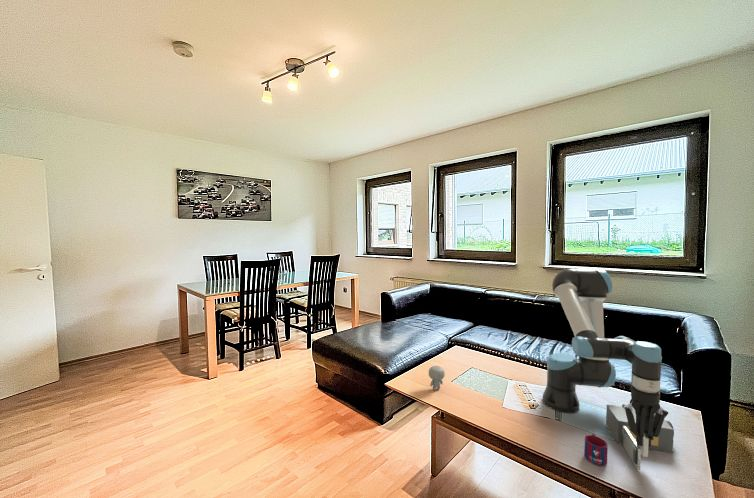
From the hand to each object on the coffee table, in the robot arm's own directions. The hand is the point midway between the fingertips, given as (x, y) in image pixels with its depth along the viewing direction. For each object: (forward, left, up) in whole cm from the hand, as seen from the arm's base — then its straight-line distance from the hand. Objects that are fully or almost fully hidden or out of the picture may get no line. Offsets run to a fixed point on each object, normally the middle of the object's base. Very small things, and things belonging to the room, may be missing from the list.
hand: (643, 454), depth 107 cm
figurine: (-76, +31, -5) cm, 82 cm away
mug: (-14, +1, -5) cm, 15 cm away
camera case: (+6, +17, -5) cm, 19 cm away
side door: (-2, +4, -4) cm, 6 cm away
